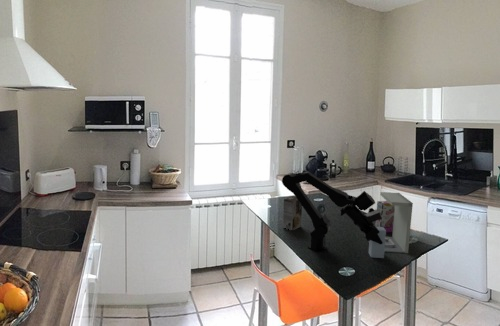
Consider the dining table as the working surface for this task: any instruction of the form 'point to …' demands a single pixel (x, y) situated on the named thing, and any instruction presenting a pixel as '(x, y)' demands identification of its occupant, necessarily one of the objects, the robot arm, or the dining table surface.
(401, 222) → the white open shelf
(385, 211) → the candy bar box
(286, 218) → the coffee box
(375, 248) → the tall gray box
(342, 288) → the dining table surface
